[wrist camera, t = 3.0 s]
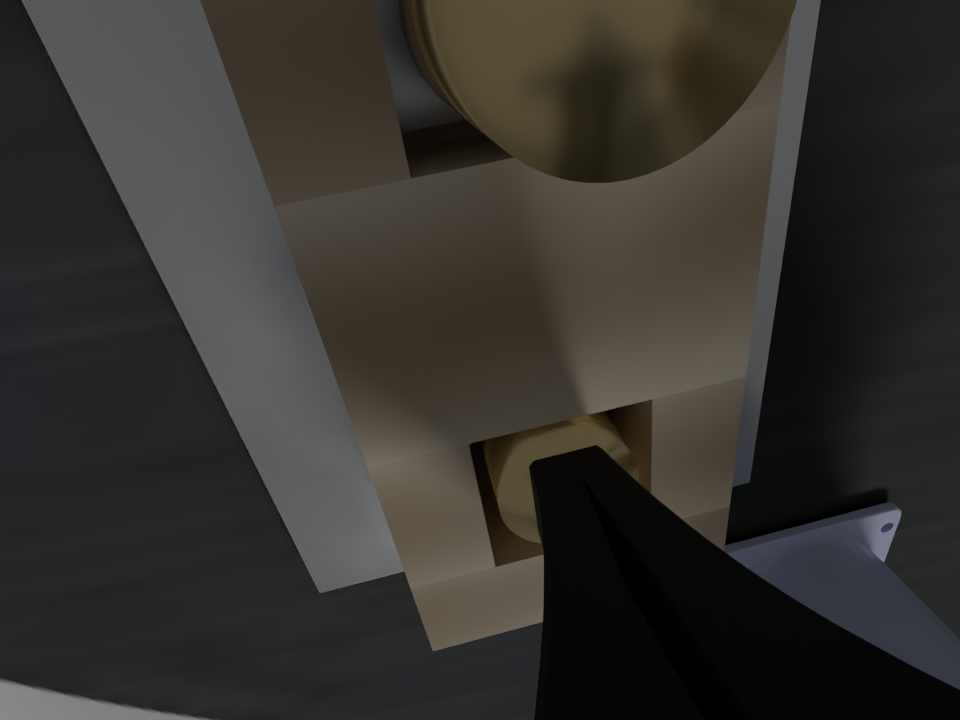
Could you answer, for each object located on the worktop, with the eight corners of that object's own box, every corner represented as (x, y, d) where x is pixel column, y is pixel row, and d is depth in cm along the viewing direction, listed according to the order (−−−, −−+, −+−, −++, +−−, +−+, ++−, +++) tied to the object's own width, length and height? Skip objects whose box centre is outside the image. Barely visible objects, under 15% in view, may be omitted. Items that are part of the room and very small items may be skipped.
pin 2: (580, 421, 14) (639, 524, 11) (478, 446, 14) (508, 557, 11) (574, 329, 13) (639, 419, 10) (459, 355, 13) (489, 455, 10)
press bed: (731, 462, 18) (749, 482, 18) (322, 566, 17) (319, 592, 17) (853, -548, 8) (911, -617, 7) (-158, -435, 7) (-230, -499, 6)
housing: (647, 462, 16) (721, 573, 13) (418, 519, 16) (433, 651, 12) (655, -351, 8) (873, -639, 5) (168, -283, 7) (3, -551, 4)
